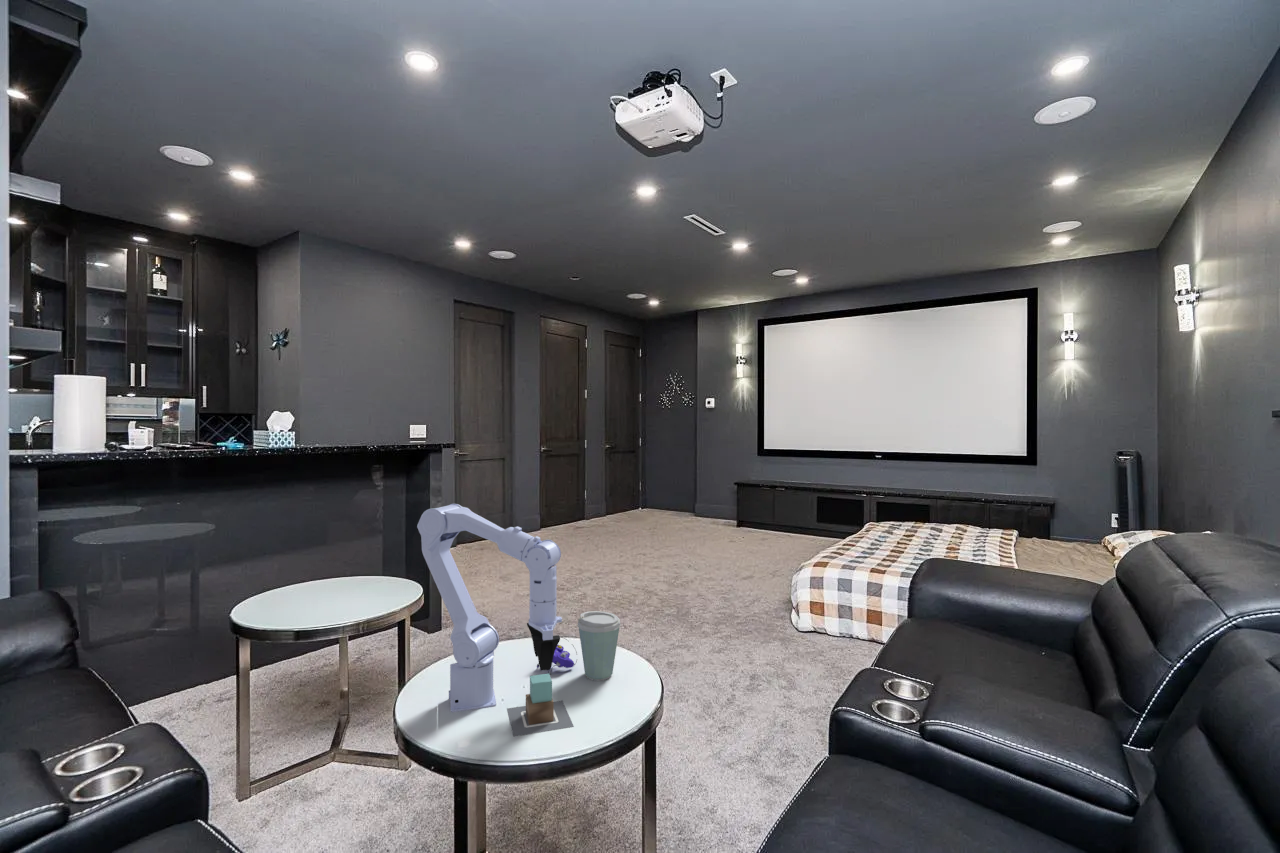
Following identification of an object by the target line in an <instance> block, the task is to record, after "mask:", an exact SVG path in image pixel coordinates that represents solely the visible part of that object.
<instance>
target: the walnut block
mask: <svg viewBox="0 0 1280 853" xmlns="http://www.w3.org/2000/svg"><path fill="white" fill-rule="evenodd" d="M554 701H555V700H553V698H552V701H546V702H539V703H532V700H531V697H530V693H527V694H526V693H525V706H526V716H527V720H528V723H529V725H532V724H538V723H544V722H551V721H554Z"/></svg>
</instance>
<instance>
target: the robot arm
mask: <svg viewBox="0 0 1280 853" xmlns="http://www.w3.org/2000/svg"><path fill="white" fill-rule="evenodd" d="M416 528H417V529H418V533H419V534H420V537H421V540H420V542H421V552H422V555H423V558H424V560H425V562H426V565H427V567H428V569H429V571H430V573H431V576H432V578H433V581H434V583H435V585H436V587H437V589H438V592H439V595H440V597H441V599H442V601H443V603H444V606H445V608H446V610H447V612H448V615H449V616H450V619H451V621H452V624H453V628H452V631H451V635H450V640H451V643H452V654H453V657H454V660H455V661H456V662H454V663H451V664H450V665H449V666H450V667H449V669H450V671H449V674H450V675H449V679H450V680H449V681H450V682H449V690H448V700H450V703H449V704H450V713H457V712H464V711H471V710H472V711H473V710H478V709H486V708H493V707H496V706H497V699H496V694H495V690H494V656H495V652H494V651H495V650H496V649H497V648H498V647H499V644H500V636H499V633H498V631H497V629H496V628H495V627H494V626H493V625H491V624H490V622H489V619H488V617H486V616H484V615H482V614H480V613H479V612H478V611H477V609H476V606H475V604H474V602H473V599H472V597H471V595H470V593H469V591H468V588H467V586H466V584H465V581H464V579H463V576H462V574H461V573H460V571H459V569H458V566H457V564H456V561H455V559H454V557H453V555H452V553H451V551H450V550H451V547H452V544H453V542H454V540H455V538H456V537H457V536H458V535H459V533H461V532H468V533H470V534H473V535H476V536H478V537H480V538H483V539H485V540H488V541H490V542H492V543H495V544H496V545H497V548H498V550H499V552H500V553H503V554H506V555H508V556H510V557H512V558H514V559H516V560H517V561H520V562H521V563H524V564H525V566H526V568H527V570H528V571H529V572H528V573H529V611H528V612H529V614H528V615H529V617H528V622H527V623H526V626H527V628H528V630H529V632H530V635H531V639H532V645H533V652H534V654H535V657H537V660H538V663H539V669H540V671H551V669H552V667H553V663H552V661H553V656H554V652H555V649H556V647H557V645H559V644H560V643H559V642H560V640H561V636H560V635H558V634H557V635H554V629H555V628H556V626H557V624H558V623H562V622H563V617H562V616H557V606H558V605H557V601H558V600H557V597H558V595H557V589H558V588H557V580H558V578H557V564H558V563H559V562H560V559H561V557H562V552H561V548H560V546H559V545H558V543H556V542H554V541H553V540H552V539H544V540H541V537H540V536H537V535H536V536H533V535H530V534H529V533H527V532H524V531H522V530H523V529H522V528H523V527H520V526H514V527H513V526H509V527H507V528H503V527H501V526H499V525H497V524H496V523H494V522H492V521H490V520H488V519H486V518H484V517H482V515H480V514H479V515H478V514H477V513H475V512H473V511H472V510H471V509H470V508H469V507H466V506H462V505H460V504H458V503H451V504H448V505H444V506H440V507H435V508H432V507H431V508H428V509H426V510H424V511H423V513H422V514H421V516H420V518H419V520H418V522H417V526H416Z"/></svg>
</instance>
